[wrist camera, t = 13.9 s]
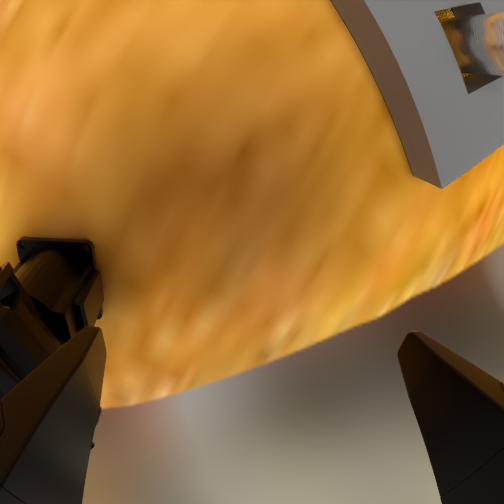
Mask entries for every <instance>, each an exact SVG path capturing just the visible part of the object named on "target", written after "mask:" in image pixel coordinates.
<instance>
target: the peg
mask: <svg viewBox="0 0 504 504" xmlns="http://www.w3.org/2000/svg"><path fill="white" fill-rule="evenodd" d="M439 22H440V24H441V26H442V28H443V30H444V33H445V35H446V37H447V39H448V42H449V44H450V46H451V49H452V51H453V54H454V56H455V59H456V61H457V64H458V66H459V69H460V72H461V73H474V74H489V75H500V76H504V12H500V13H488V14H478V15H470V16H462V17H456V18H449V19H443V20H439Z"/></svg>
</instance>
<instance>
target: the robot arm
mask: <svg viewBox="0 0 504 504" xmlns="http://www.w3.org/2000/svg"><path fill="white" fill-rule="evenodd" d="M21 243H23V244H24V247H23V246H22V244H21ZM84 246H87V247H88V249H89V250H86V249H85V248H84ZM17 250H18V255H19V260H20V262H19V263H18V265H17V266H16V267H15V268H14V269H13V268H12V266H11V265H10V263H9V262H7V263H6V264H4V265H3V266H1V267H0V504H82V499H83V491H84V485H85V479H86V472H87V467H88V461H89V455H90V450H91V449H92V448H93V447H94V442H92V440H93V435H94V430H95V428H96V425H97V424H98V421H99V418H100V414H101V407H100V400H101V392H102V384H103V376H104V369H105V362H106V347H105V342H104V338H103V333H102V330H101V328H99V327H94V324H95V322H96V319H100V318H101V317H102V314H103V310H102V304H103V301H104V298H103V291H102V284H101V277H100V272H99V271H98V269H96V263H95V255H94V246H93V244H92V242H90V241H89V240H75V239H49V238H20V239H19V240H18V241H17ZM397 356H398V360H399V364H400V367H401V371H402V374H403V378H404V382H405V386H406V389H407V393H408V396H409V399H410V402H411V405H412V408H413V410H414V413H415V416H416V419H417V422H418V425H419V427H420V431H421V434H422V436H423V439H424V443H425V446H426V449H427V452H428V455H429V459H430V462H431V465H432V469H433V472H434V475H435V479H436V483H437V486H438V490H439V493H440V496H441V497H440V498H441V502H442V504H504V384H503V383H502V382H499V380H497V379H495V378H494V377H493V376H491V375H489V374H488V373H486V372H485V371H483V370H481V369H480V368H478V367H477V366H475V365H474V364H472V363H470V362H469V361H467V360H466V359H464V358H463V357H461V356H459V355H458V354H456V353H454V352H453V351H451V350H450V349H448V348H446V347H445V346H443V345H442V344H440V343H438V342H437V341H435V340H434V339H432V338H430V337H429V336H427V335H425V334H424V333H422V332H420V331H411V332H409V333H407V335H406V336H405V338H404V340H403V342H402V344H401V346H400V348H399V350H398V354H397Z"/></svg>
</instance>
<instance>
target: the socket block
mask: <svg viewBox="0 0 504 504" xmlns="http://www.w3.org/2000/svg"><path fill="white" fill-rule="evenodd" d="M331 2H332V4H333V5H334V7H335V8H336V10H337V11H338V13H339V15H340V16H341V18H342V20H343V21H344V23H345V25H346V26H347V28H348V30H349V31H350V33H351V35H352V37H353V38H354V40H355V42H356V44H357V46H358V47H359V49H360V51H361V53H362V55H363V57H364V59H365V61H366V63H367V64H368V66H369V68H370V70H371V72H372V75H373V77H374V79H375V81H376V83H377V85H378V87H379V89H380V91H381V94H382V96H383V98H384V100H385V103H386V105H387V107H388V110H389V112H390V114H391V117H392V119H393V122H394V124H395V127H396V129H397V132H398V134H399V137H400V140H401V142H402V145H403V148H404V151H405V153H406V156H407V159H408V162H409V165H410V168H411V171H412V174H413V176H416V177H418V178H420V179H422V180H424V181H426V182H429V183H431V184H433V185H435V186H437V187H439V188H441V189H443V188H444V187H445V186H447V185H448V184H450V183H451V182H453V181H454V180H455V179H457V178H458V177H460V176H461V175H462V174H464V173H465V172H467V171H468V170H469V169H471V168H472V167H474V166H475V165H476V164H478V163H479V162H481V161H482V160H483V159H485V158H486V157H487V156H489V155H490V154H491V153H493V152H494V151H495V150H497V149H498V148H499V147H501V146H502V145H503V144H504V76H500V75H489V74H474V73H473V74H471V75H469V76H467V77H465V78H462V75H461V72H460V69H459V66H458V64H457V61H456V59H455V56H454V54H453V51H452V49H451V46H450V44H449V42H448V39H447V37H446V35H445V33H444V30H443V28H442V26H441V24H440V22H439V20H438V18H437V16H436V14H435V11H439V10H444V9H448V8H452V10H453V12H454V14H455V17H462V16H470V15H478V14H488V13H500V12H504V0H331Z"/></svg>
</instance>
